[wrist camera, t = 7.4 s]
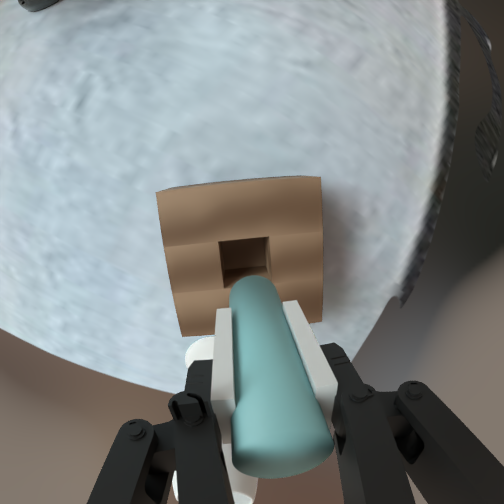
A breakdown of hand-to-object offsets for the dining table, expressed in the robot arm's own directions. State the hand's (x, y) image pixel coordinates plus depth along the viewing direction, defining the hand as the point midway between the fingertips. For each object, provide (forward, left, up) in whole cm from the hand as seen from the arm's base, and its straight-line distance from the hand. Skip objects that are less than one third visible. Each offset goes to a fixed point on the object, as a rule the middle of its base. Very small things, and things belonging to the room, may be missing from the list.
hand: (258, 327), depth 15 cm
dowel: (0, 0, -4) cm, 4 cm away
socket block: (0, 0, -17) cm, 17 cm away
